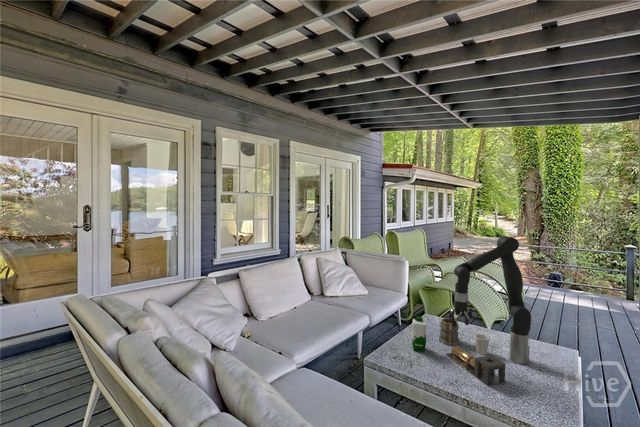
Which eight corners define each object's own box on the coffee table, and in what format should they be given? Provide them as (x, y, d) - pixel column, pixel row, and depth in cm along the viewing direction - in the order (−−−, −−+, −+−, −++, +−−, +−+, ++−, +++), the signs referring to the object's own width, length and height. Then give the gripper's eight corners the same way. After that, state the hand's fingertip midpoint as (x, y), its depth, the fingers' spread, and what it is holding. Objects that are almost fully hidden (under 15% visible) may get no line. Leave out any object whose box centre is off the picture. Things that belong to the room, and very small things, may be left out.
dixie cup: (480, 348, 208) (481, 333, 208) (492, 354, 201) (492, 338, 200) (471, 350, 205) (471, 335, 205) (482, 356, 197) (482, 340, 197)
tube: (451, 354, 200) (451, 346, 199) (458, 352, 201) (458, 344, 201) (477, 373, 178) (477, 364, 178) (484, 371, 180) (484, 362, 179)
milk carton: (425, 346, 211) (425, 316, 209) (426, 353, 202) (427, 321, 201) (411, 344, 213) (411, 315, 211) (411, 351, 204) (412, 320, 203)
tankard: (439, 335, 227) (439, 314, 226) (458, 338, 222) (459, 317, 221) (438, 348, 208) (439, 325, 207) (459, 351, 204) (460, 328, 203)
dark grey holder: (445, 354, 200) (446, 338, 199) (461, 352, 203) (462, 336, 202) (487, 386, 167) (488, 367, 166) (505, 383, 170) (506, 364, 169)
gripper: (466, 296, 199) (466, 322, 200) (447, 298, 196) (446, 324, 197) (475, 300, 192) (474, 326, 193) (455, 302, 188) (454, 329, 189)
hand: (460, 325), depth 195 cm, fingers open, 8 cm apart
